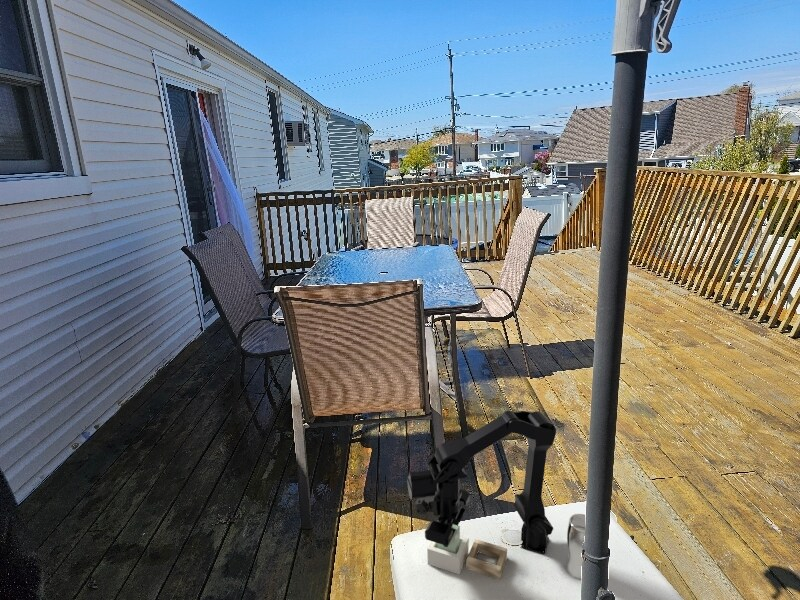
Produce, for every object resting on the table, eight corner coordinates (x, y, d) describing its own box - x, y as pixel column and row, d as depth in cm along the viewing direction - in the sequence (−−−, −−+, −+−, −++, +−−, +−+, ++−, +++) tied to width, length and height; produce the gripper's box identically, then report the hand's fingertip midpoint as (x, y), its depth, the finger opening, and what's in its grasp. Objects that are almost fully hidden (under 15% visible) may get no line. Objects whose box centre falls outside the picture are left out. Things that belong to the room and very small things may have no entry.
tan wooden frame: (506, 557, 136) (507, 548, 135) (499, 579, 129) (500, 570, 129) (474, 547, 140) (475, 538, 139) (466, 568, 133) (466, 559, 132)
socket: (468, 552, 138) (468, 537, 137) (459, 574, 131) (459, 558, 130) (437, 543, 142) (437, 528, 140) (427, 563, 135) (427, 548, 134)
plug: (459, 550, 137) (459, 521, 134) (454, 561, 133) (454, 531, 131) (442, 545, 139) (442, 516, 136) (437, 555, 135) (436, 526, 133)
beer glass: (594, 582, 128) (599, 534, 123) (565, 579, 129) (569, 530, 125) (590, 561, 134) (595, 514, 130) (563, 558, 136) (566, 511, 131)
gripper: (432, 464, 142) (432, 510, 146) (405, 505, 126) (406, 556, 130) (470, 473, 137) (469, 521, 142) (447, 518, 121) (447, 570, 126)
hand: (448, 540), depth 135 cm, fingers closed on plug, 4 cm apart
